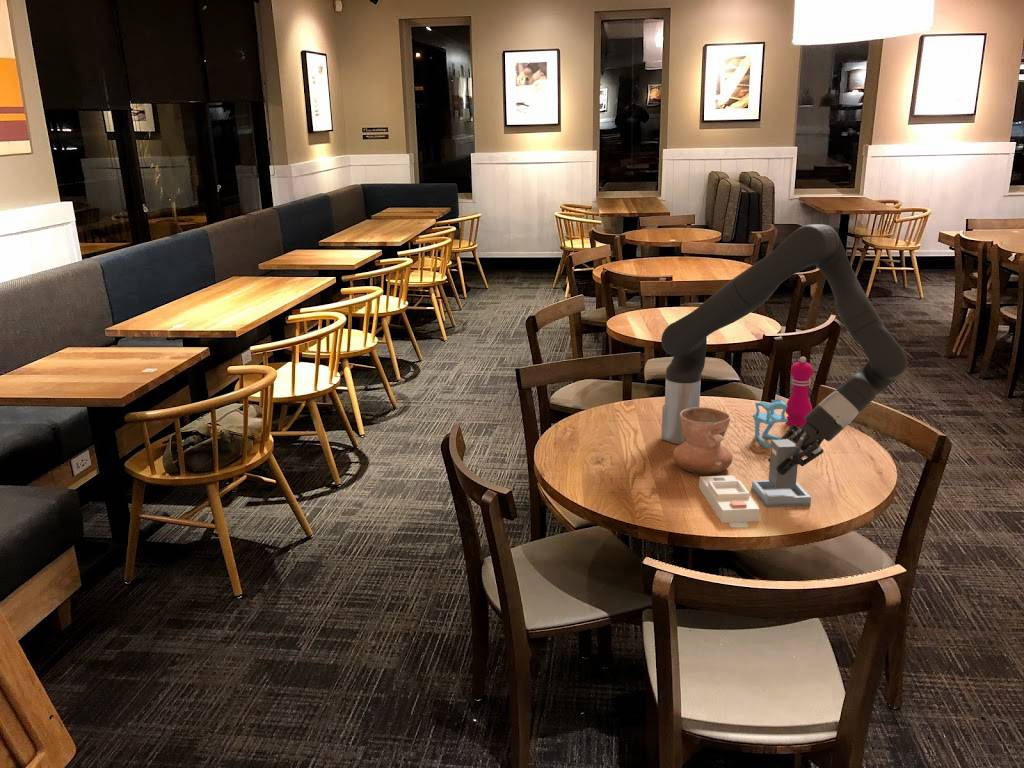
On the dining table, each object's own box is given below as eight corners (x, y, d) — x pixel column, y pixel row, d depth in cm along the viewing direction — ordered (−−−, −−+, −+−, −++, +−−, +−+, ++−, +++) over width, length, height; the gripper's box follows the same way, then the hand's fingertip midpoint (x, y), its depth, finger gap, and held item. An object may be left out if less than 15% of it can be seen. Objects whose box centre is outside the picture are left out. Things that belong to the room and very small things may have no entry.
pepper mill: (814, 428, 230) (820, 359, 224) (788, 428, 230) (794, 360, 224) (805, 419, 237) (811, 353, 231) (780, 420, 237) (786, 353, 231)
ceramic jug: (745, 477, 198) (748, 422, 194) (689, 483, 195) (692, 427, 191) (711, 452, 215) (713, 401, 211) (659, 457, 212) (661, 405, 208)
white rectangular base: (699, 488, 192) (700, 471, 191) (732, 487, 193) (733, 470, 192) (722, 522, 175) (723, 505, 174) (758, 521, 176) (760, 503, 174)
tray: (766, 506, 182) (767, 498, 182) (751, 488, 192) (752, 480, 191) (810, 505, 183) (811, 497, 182) (793, 486, 192) (794, 479, 192)
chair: (771, 434, 226) (774, 393, 223) (789, 444, 218) (793, 401, 215) (747, 438, 224) (749, 396, 220) (765, 448, 216) (768, 405, 213)
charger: (768, 480, 188) (771, 439, 186) (788, 479, 189) (791, 439, 186) (775, 488, 184) (778, 447, 181) (795, 487, 184) (799, 446, 181)
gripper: (808, 395, 188) (753, 446, 191) (835, 415, 174) (775, 469, 177) (828, 416, 190) (774, 466, 193) (856, 437, 176) (797, 491, 179)
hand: (775, 467), depth 185 cm, fingers closed on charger, 4 cm apart
